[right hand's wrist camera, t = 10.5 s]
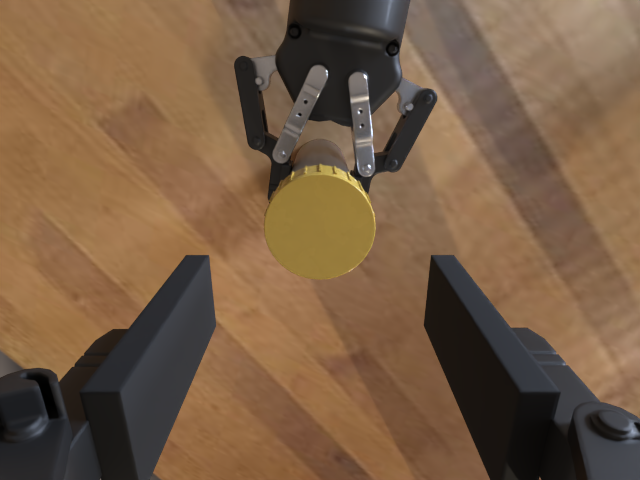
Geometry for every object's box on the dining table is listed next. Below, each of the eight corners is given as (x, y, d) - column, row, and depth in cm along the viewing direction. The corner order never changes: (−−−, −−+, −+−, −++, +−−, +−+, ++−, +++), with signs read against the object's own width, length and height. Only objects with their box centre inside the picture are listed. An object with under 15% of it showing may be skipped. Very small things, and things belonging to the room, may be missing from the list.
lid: (375, 256, 23) (381, 274, 21) (277, 267, 24) (272, 286, 21) (366, 157, 21) (372, 165, 19) (260, 170, 22) (253, 180, 19)
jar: (347, 186, 37) (368, 262, 21) (298, 192, 37) (282, 271, 22) (342, 135, 36) (360, 177, 20) (291, 142, 36) (268, 188, 20)
